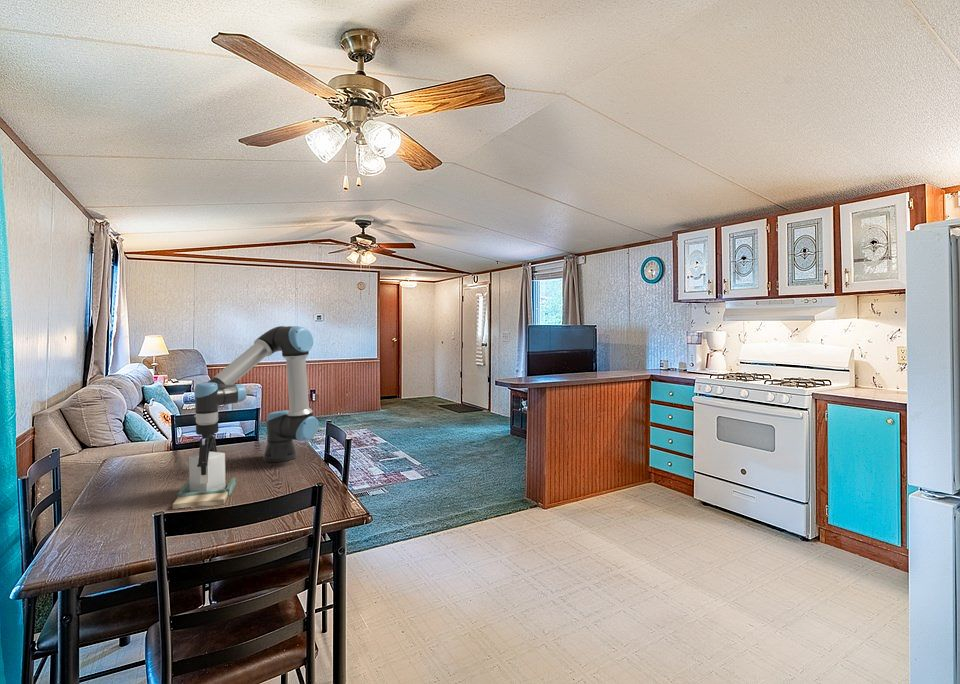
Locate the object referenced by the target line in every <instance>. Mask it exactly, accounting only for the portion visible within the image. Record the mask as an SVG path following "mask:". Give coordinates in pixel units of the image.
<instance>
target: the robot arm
mask: <svg viewBox="0 0 960 684" xmlns="http://www.w3.org/2000/svg"><path fill="white" fill-rule="evenodd" d="M313 345H314V337H313V334H312V333H311V330H309V329H308V328H307V327H304V326H298V325H297V326H295V325H294V326H291V325H290V326H287V325H286V326H285V325H283V326H282V325H281V326H280V325H279V326H275V327H273V328H271V329H269V330H267V331H266V332H264V333H263V334H261V335H260V336H258V338H256V339H254V341H253V344H252V345H251V346H250V347H249V348H247V349H246V350H245V351H244V352H243V353H241V354H240V355H239V356H238V357H237V358H235V359H234V360H233V361H232V362H230V363H229V364H227V366H226V367H224V368H223V369H222V370H221V371H219V372H217V374H216V375H215V376H213V377H212V378H210V380H208V381H207V382H206V381H204V382H199V383H197V384H195V388H194V391H193V393H194V394H193V395H194V402H195V403H194V405H195V414H194V415H193V418H195V424H196V425H195V433H196V435H199V436H201V438H200V439H199V451H198V452H199V453H198V454H199V461H198V465H197V467H200V484H202V483H209V471H208V457H209V451H211V452H218V449H217V443H216V437H215V436H216V433H218V432H219V422H218V421H219V406H220V407H221V406H225V405H231V404H237V403H241V402H244V401H245V400H246V398H247V396H248V395H247V393H248V391H247V388H246V387H245V385H243V384H241V383H237V382H239V380H241V378H243V376H245V375H246V374H247V373H248V372H249V371H251V370H252V369H253V368H254V367H256V366H257V365H258V364H259V363H260V362H261V361H263V360H264V359H265V358H266V357H270V356H272V355H273V354H275V353H277V352H281V355H282V358H284V359H285V362H286V363H285V365H286V376H287V377H286V380H287V388H288V389H287V391H288V404H289V409H285V410H277V411H273V412H270V413H268V414H267V415H266V446H265V450H264V453H263V455H262V457H263V461H264V462H267V463H284V462H288V461H292V460H295V459H296V458H297V457H298V452H297V449H296V446H295V443H294V440H295V441H298V442H308V441H310V440H312V439H314V437H315V436H316V434H318V431H319V427H320V423H319V419H317V418H316V417H315V416H314V412H313V409H312V408H310V403H309V391H308V390H309V388H308V374H307V373H308V372H307V357H308V356H309V355H310V354H309V353H310V350H312V348H313ZM202 462H204V463H202Z"/></svg>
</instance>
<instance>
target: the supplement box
mask: <svg viewBox="0 0 960 684" xmlns="http://www.w3.org/2000/svg"><path fill="white" fill-rule="evenodd" d="M198 461H199V453H197V454H193V455H190V456H188V467H189V468H188V470H189V473H188V474H189V475H188V476H189V479H188V480H189V481H190V490H189V492H199V491H209V490H220V489H226V488H227V486H226V453H225V452H219V451H217V452H211V451H209V457H208V471H209V483H202V484H200V467H197V465H198ZM202 463H204V462H202Z"/></svg>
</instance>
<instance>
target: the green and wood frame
mask: <svg viewBox="0 0 960 684" xmlns="http://www.w3.org/2000/svg"><path fill="white" fill-rule="evenodd" d="M236 479H237V478H236V476H235V477H233V476H232V477H231V479H230V481H229V483H228V484H227V486H226V489H220V490H209V491H199V492H190V480H189V481H186V483H184V485H183V486H181V489H179V491H178V492H177V493H176V499H175V501H174V502H173V503H172V510H173V509H175V510H179V509H178V508H184V507H191V508H190V509H193V508H205V507H211V506H221V505H225V502H226V501H227V499H228V497H231V495H232V493H233V490H234V489H235V487H236V484H237V483H236Z"/></svg>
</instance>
